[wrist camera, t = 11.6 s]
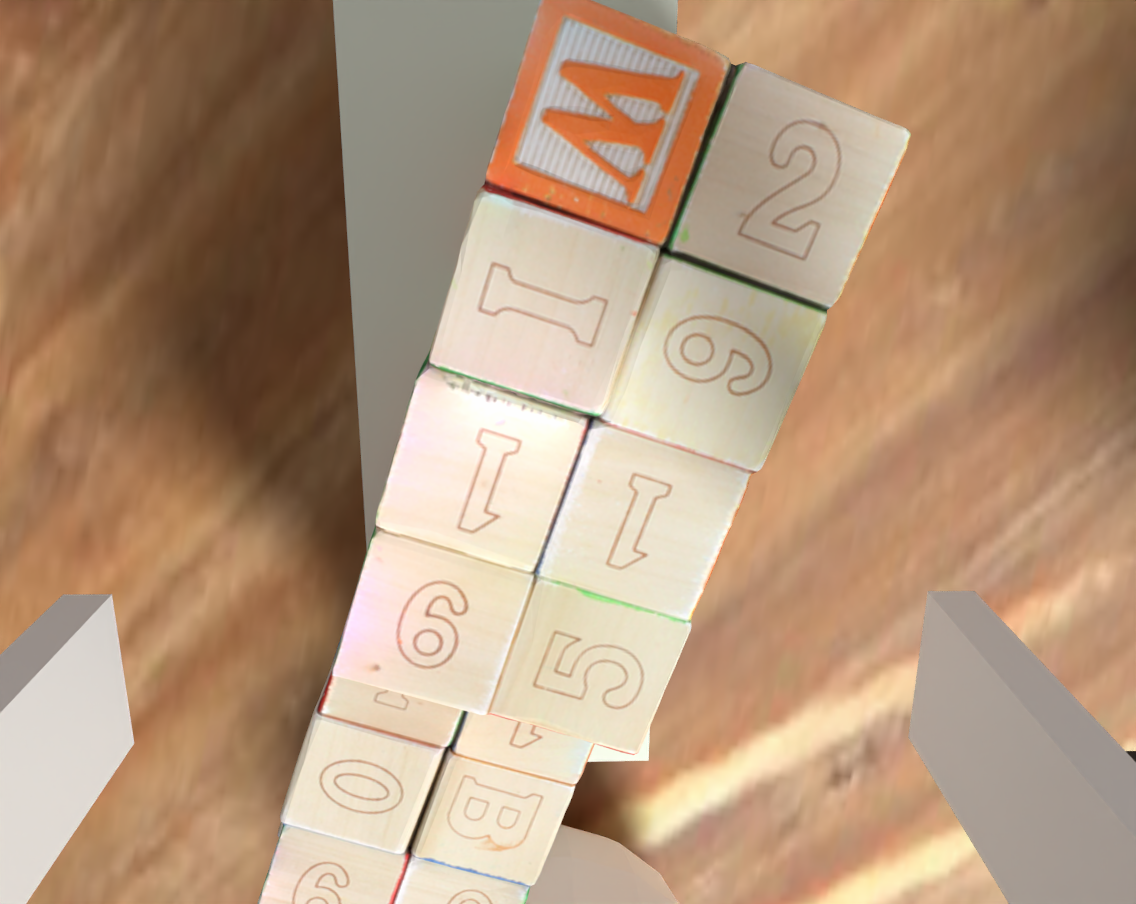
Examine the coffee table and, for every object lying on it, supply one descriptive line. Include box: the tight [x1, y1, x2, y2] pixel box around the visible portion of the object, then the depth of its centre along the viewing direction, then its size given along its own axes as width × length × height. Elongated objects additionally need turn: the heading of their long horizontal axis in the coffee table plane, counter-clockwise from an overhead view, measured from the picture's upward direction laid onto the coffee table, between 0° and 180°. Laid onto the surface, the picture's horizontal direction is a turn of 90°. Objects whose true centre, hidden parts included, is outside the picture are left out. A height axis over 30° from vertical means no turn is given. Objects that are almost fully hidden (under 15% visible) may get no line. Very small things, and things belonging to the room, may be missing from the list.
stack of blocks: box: [258, 0, 911, 904], centre depth 24 cm, size 21×6×12 cm, turn 160°
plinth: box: [333, 0, 678, 762], centre depth 32 cm, size 9×24×5 cm, turn 179°
